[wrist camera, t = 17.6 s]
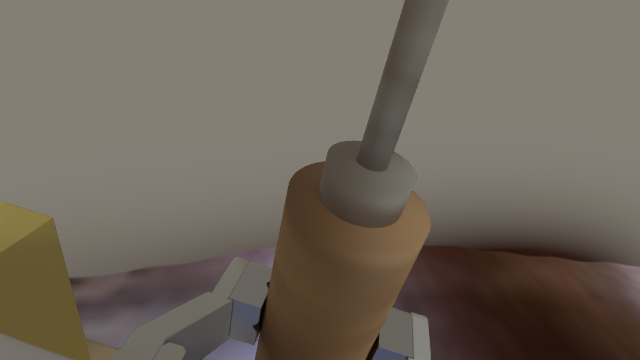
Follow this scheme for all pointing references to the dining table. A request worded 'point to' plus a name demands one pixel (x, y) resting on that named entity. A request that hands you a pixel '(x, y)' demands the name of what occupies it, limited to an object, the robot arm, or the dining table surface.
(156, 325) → the robot arm
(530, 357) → the dining table surface
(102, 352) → the plywood panel
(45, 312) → the block
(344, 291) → the awl
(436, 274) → the dining table surface
